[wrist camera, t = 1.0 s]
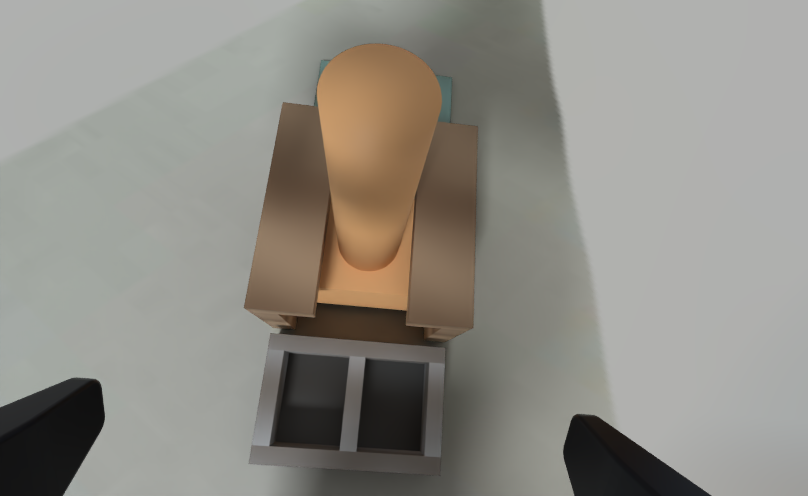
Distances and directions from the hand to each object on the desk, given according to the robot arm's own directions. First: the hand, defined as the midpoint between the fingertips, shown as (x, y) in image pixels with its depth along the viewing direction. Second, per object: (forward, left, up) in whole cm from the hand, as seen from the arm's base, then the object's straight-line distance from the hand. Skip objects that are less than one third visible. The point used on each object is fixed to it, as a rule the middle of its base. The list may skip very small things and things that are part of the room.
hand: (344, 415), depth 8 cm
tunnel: (+6, +5, -16) cm, 18 cm away
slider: (+6, +5, -16) cm, 17 cm away
